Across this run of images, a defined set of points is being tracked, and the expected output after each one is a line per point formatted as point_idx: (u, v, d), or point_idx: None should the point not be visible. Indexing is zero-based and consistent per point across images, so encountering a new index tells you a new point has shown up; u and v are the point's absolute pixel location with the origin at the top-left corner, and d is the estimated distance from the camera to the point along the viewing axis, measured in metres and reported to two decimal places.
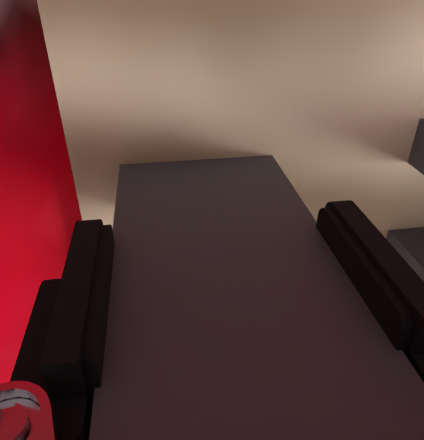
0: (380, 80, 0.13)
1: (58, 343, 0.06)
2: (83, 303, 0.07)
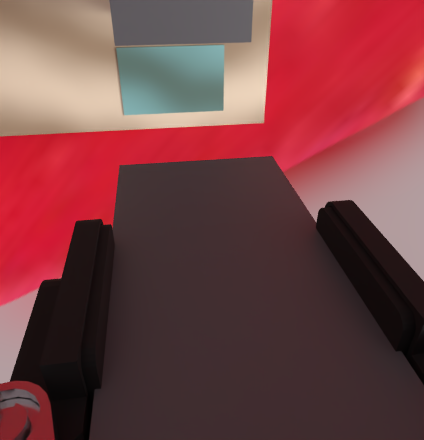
0: None
1: (58, 343, 0.06)
2: (83, 303, 0.07)
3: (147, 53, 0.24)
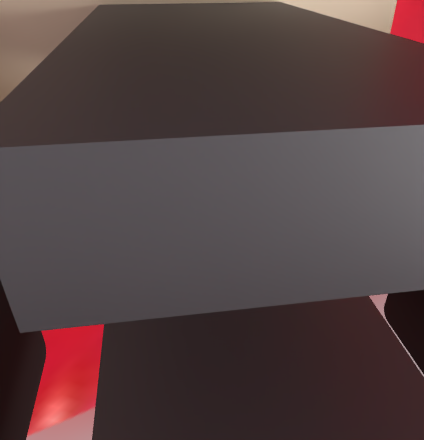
0: None
1: None
2: None
3: None
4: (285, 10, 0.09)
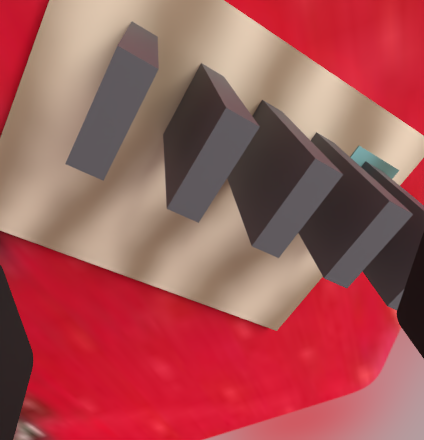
0: (65, 114, 0.25)
1: None
2: None
3: None
4: (323, 151, 0.26)
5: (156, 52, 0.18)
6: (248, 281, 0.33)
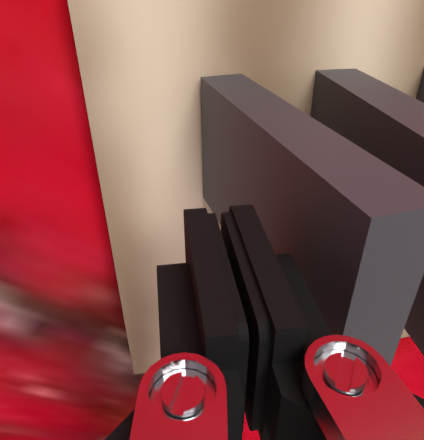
0: (174, 229, 0.18)
1: (215, 318, 0.06)
2: (223, 283, 0.07)
3: None
4: None
5: (331, 131, 0.10)
6: None
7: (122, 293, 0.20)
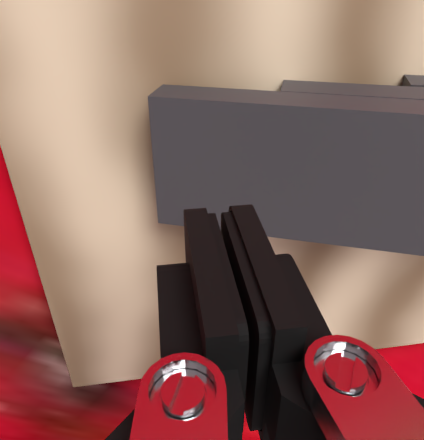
0: (99, 241, 0.18)
1: (215, 318, 0.06)
2: (223, 283, 0.07)
3: None
4: None
5: (342, 95, 0.14)
6: None
7: (51, 305, 0.19)
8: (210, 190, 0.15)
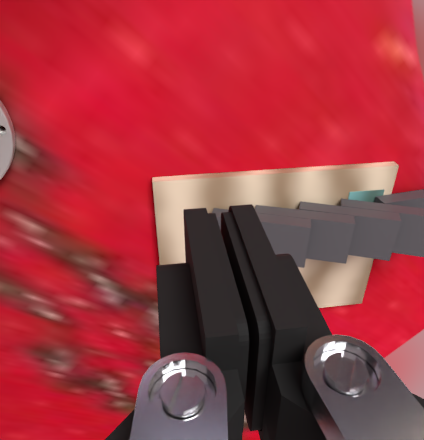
0: (185, 260, 0.46)
1: (215, 318, 0.06)
2: (223, 283, 0.07)
3: None
4: None
5: (274, 215, 0.41)
6: (326, 286, 0.51)
7: None
8: None
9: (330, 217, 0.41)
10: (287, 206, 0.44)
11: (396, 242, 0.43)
